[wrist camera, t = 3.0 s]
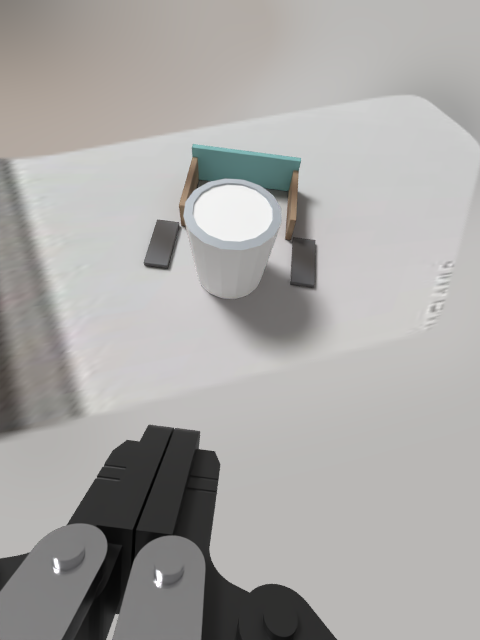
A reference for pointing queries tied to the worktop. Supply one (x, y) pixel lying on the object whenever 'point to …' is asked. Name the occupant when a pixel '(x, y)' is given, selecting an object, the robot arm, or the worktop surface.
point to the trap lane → (301, 248)
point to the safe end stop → (245, 166)
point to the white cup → (231, 234)
